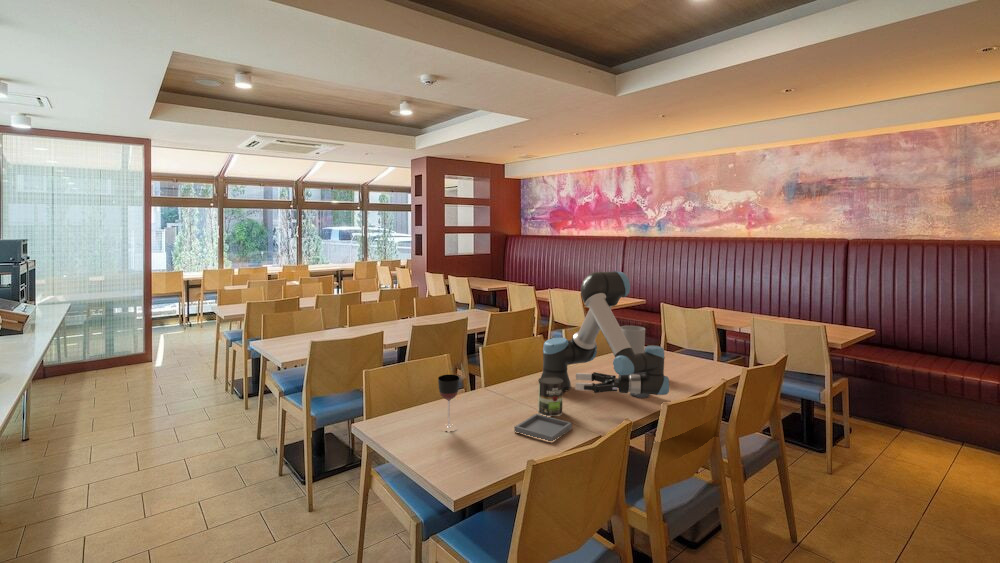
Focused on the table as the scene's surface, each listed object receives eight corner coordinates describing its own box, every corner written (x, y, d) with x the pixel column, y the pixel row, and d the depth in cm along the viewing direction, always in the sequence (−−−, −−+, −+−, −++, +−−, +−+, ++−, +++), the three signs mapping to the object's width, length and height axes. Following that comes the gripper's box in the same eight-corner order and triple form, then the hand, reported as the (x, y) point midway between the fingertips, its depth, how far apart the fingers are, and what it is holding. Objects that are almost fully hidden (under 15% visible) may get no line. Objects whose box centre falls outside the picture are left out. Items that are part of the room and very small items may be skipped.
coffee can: (566, 415, 209) (567, 382, 207) (543, 418, 206) (543, 384, 204) (556, 407, 218) (557, 375, 217) (534, 409, 215) (534, 377, 214)
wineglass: (459, 423, 200) (459, 374, 197) (458, 432, 191) (458, 381, 189) (439, 423, 199) (439, 374, 197) (437, 432, 191) (437, 381, 188)
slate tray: (514, 432, 191) (514, 426, 191) (535, 419, 204) (536, 413, 204) (551, 443, 182) (551, 437, 182) (571, 428, 195) (571, 422, 195)
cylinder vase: (628, 370, 274) (630, 324, 271) (648, 375, 264) (650, 328, 261) (613, 374, 266) (615, 327, 263) (633, 380, 256) (635, 331, 253)
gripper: (631, 403, 193) (575, 400, 196) (626, 383, 217) (576, 381, 221) (631, 384, 192) (575, 381, 195) (626, 366, 216) (576, 364, 220)
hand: (575, 381), depth 208 cm, fingers open, 13 cm apart
